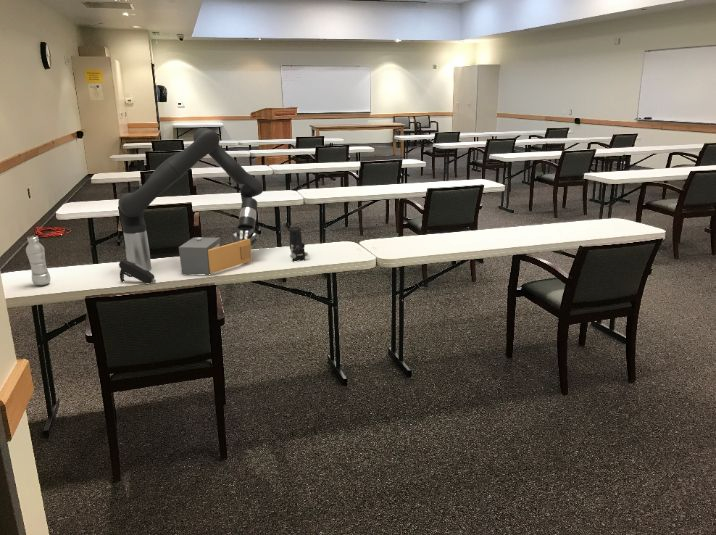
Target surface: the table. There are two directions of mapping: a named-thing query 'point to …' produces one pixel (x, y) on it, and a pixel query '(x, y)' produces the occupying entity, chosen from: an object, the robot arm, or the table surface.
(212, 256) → the side door
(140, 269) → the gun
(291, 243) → the scope
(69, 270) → the table surface
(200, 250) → the grey cabinet body
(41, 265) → the plastic bottle
